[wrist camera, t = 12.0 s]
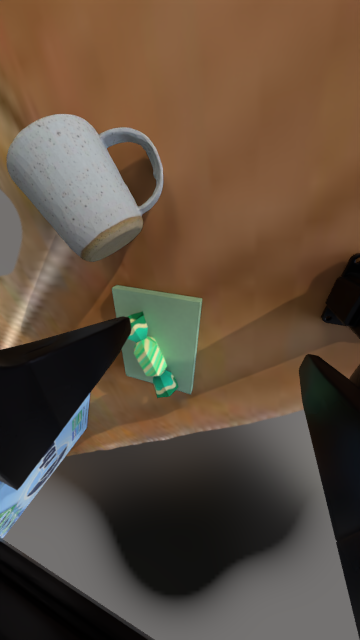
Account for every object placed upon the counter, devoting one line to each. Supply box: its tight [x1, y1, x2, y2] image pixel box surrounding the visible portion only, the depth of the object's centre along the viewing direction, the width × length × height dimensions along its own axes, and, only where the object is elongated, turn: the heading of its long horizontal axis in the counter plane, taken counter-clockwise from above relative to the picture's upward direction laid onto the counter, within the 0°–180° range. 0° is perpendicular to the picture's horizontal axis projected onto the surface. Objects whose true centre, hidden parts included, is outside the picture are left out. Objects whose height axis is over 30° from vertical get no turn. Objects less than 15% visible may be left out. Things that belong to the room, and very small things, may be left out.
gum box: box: [0, 394, 90, 539], centre depth 36 cm, size 20×5×23 cm, turn 159°
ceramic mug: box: [7, 114, 163, 262], centre depth 15 cm, size 11×8×8 cm
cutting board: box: [112, 285, 202, 394], centre depth 26 cm, size 12×16×1 cm
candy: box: [128, 311, 179, 398], centre depth 25 cm, size 12×3×4 cm
